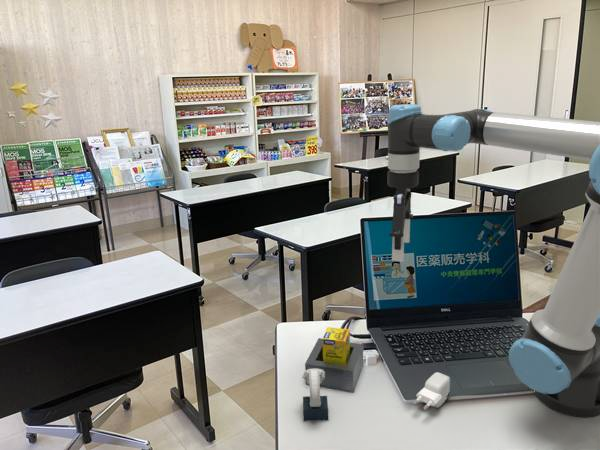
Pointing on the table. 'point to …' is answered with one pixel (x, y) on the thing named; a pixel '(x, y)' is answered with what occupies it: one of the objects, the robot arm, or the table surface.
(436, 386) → the power adapter
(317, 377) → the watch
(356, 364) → the hollow block
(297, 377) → the table surface
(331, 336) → the supplement box
